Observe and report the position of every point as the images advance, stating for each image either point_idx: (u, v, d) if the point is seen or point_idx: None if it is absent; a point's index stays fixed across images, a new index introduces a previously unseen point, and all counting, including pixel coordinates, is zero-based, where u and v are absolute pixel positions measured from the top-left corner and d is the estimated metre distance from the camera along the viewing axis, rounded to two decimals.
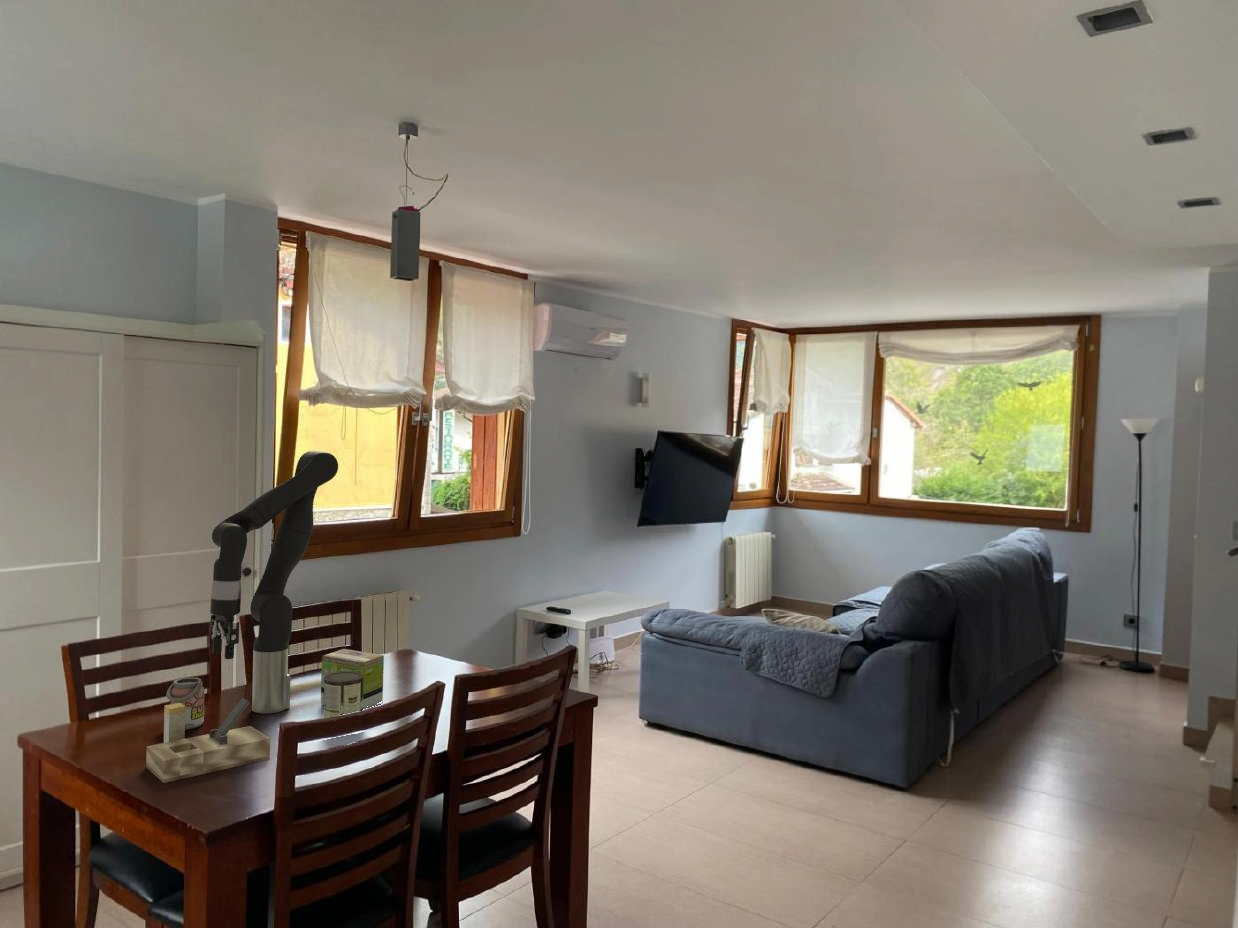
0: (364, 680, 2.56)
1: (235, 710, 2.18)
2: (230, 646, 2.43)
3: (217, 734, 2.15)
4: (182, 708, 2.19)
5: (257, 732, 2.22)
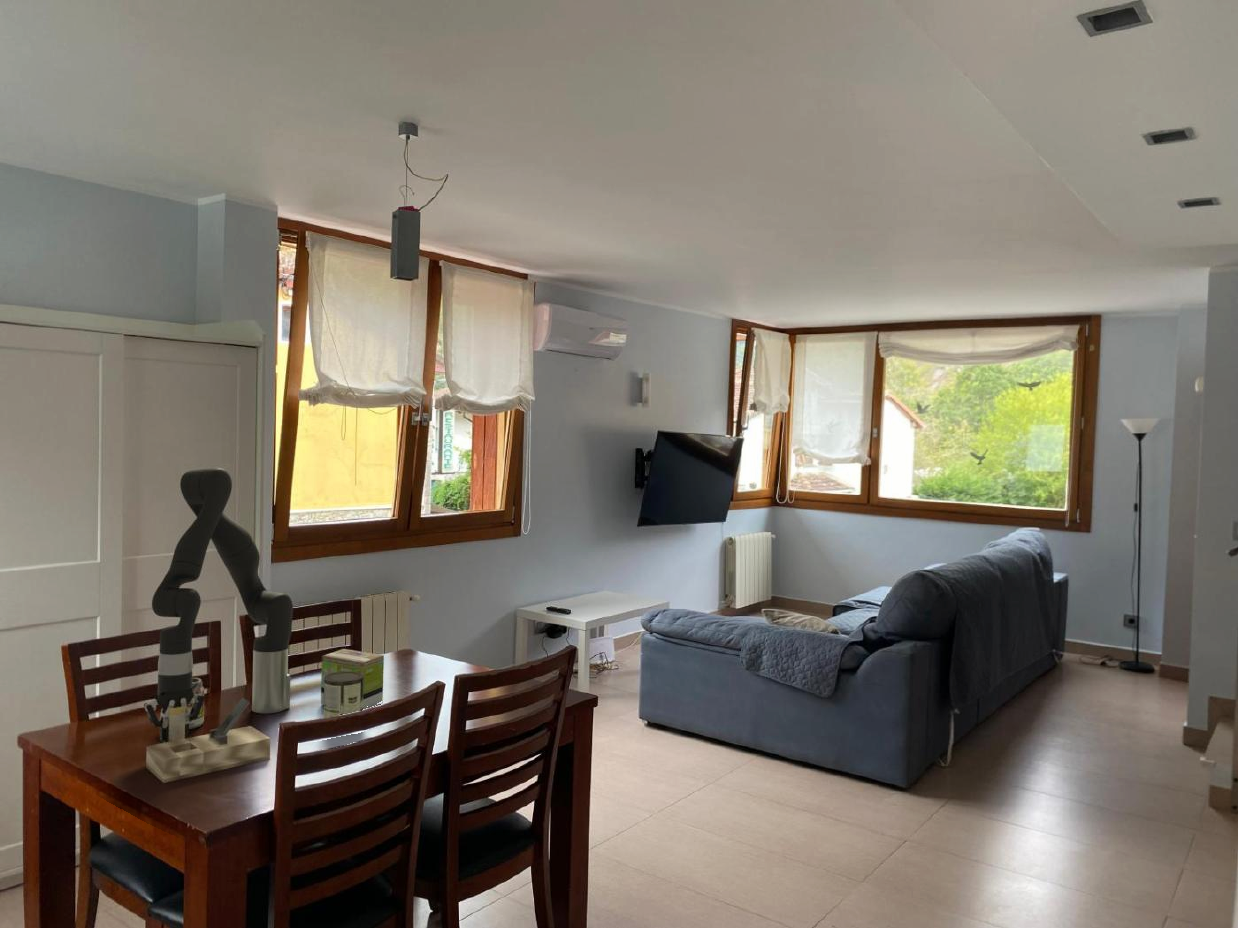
0: (364, 680, 2.56)
1: (235, 710, 2.18)
2: None
3: (217, 734, 2.15)
4: (182, 708, 2.19)
5: (257, 732, 2.22)
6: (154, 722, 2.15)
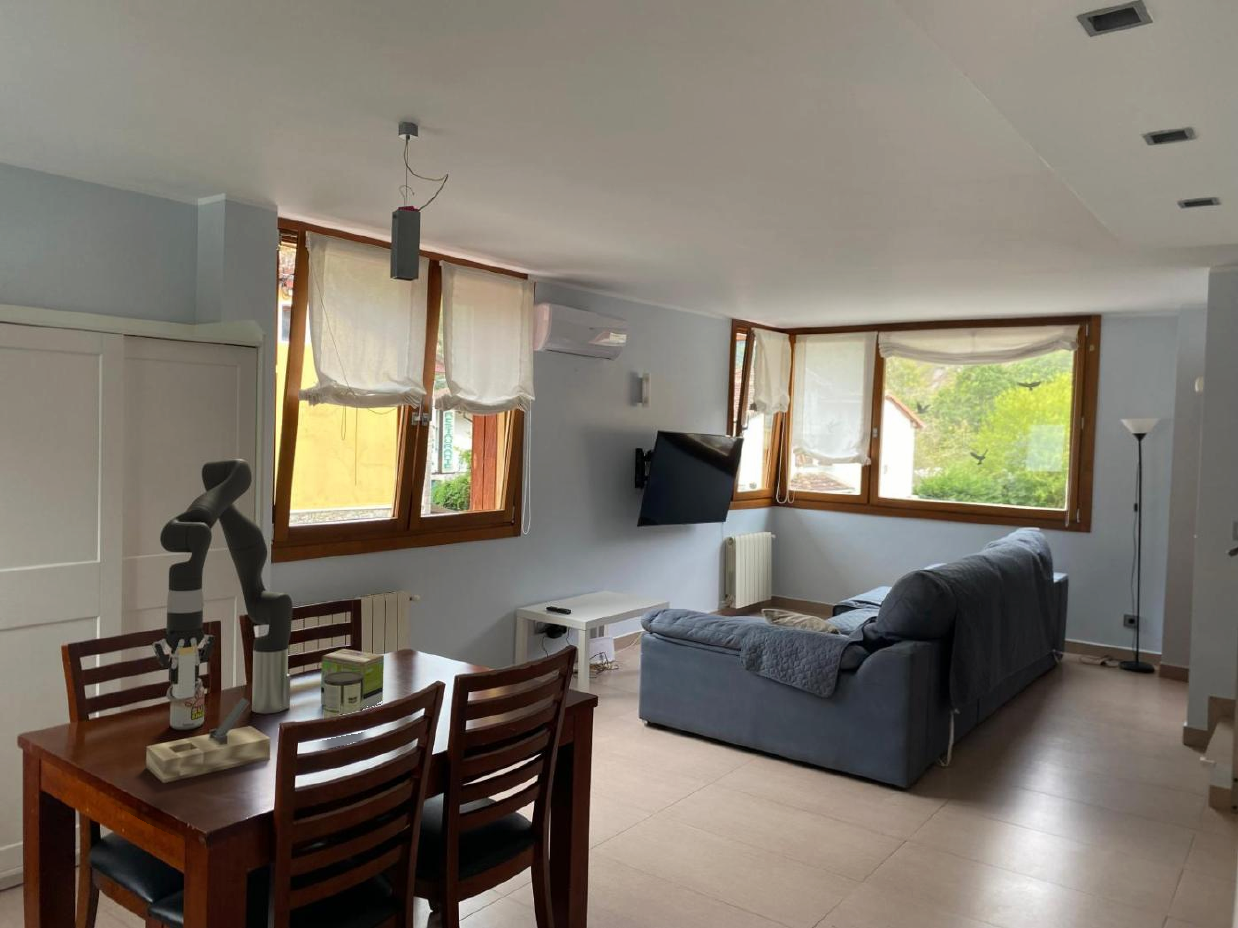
0: (364, 680, 2.56)
1: (235, 710, 2.18)
2: None
3: (217, 734, 2.15)
4: (192, 648, 2.09)
5: (257, 732, 2.22)
6: (163, 662, 2.05)
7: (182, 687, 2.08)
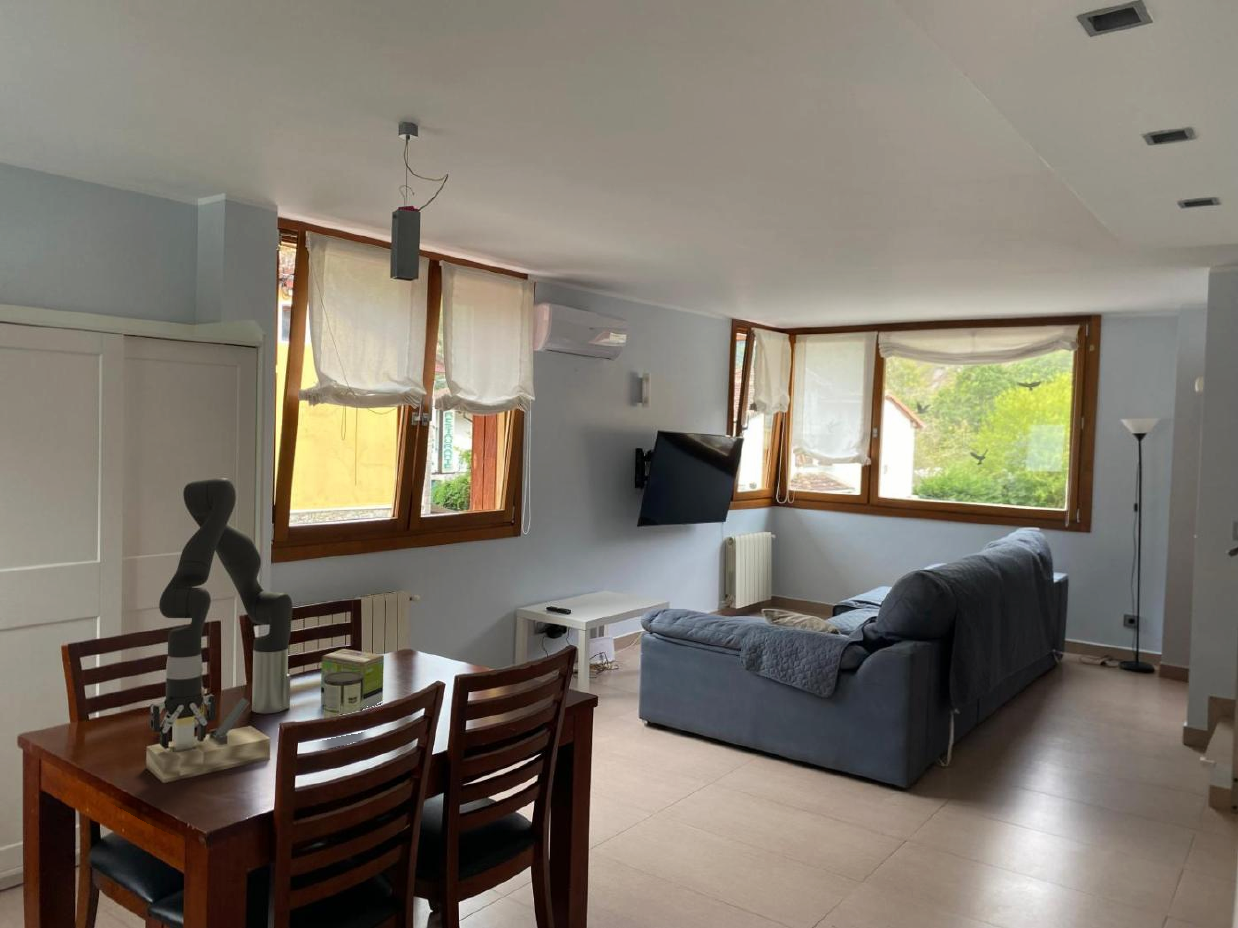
0: (364, 680, 2.56)
1: (235, 710, 2.18)
2: None
3: (217, 734, 2.15)
4: (191, 718, 2.09)
5: (257, 732, 2.22)
6: (155, 726, 2.04)
7: None
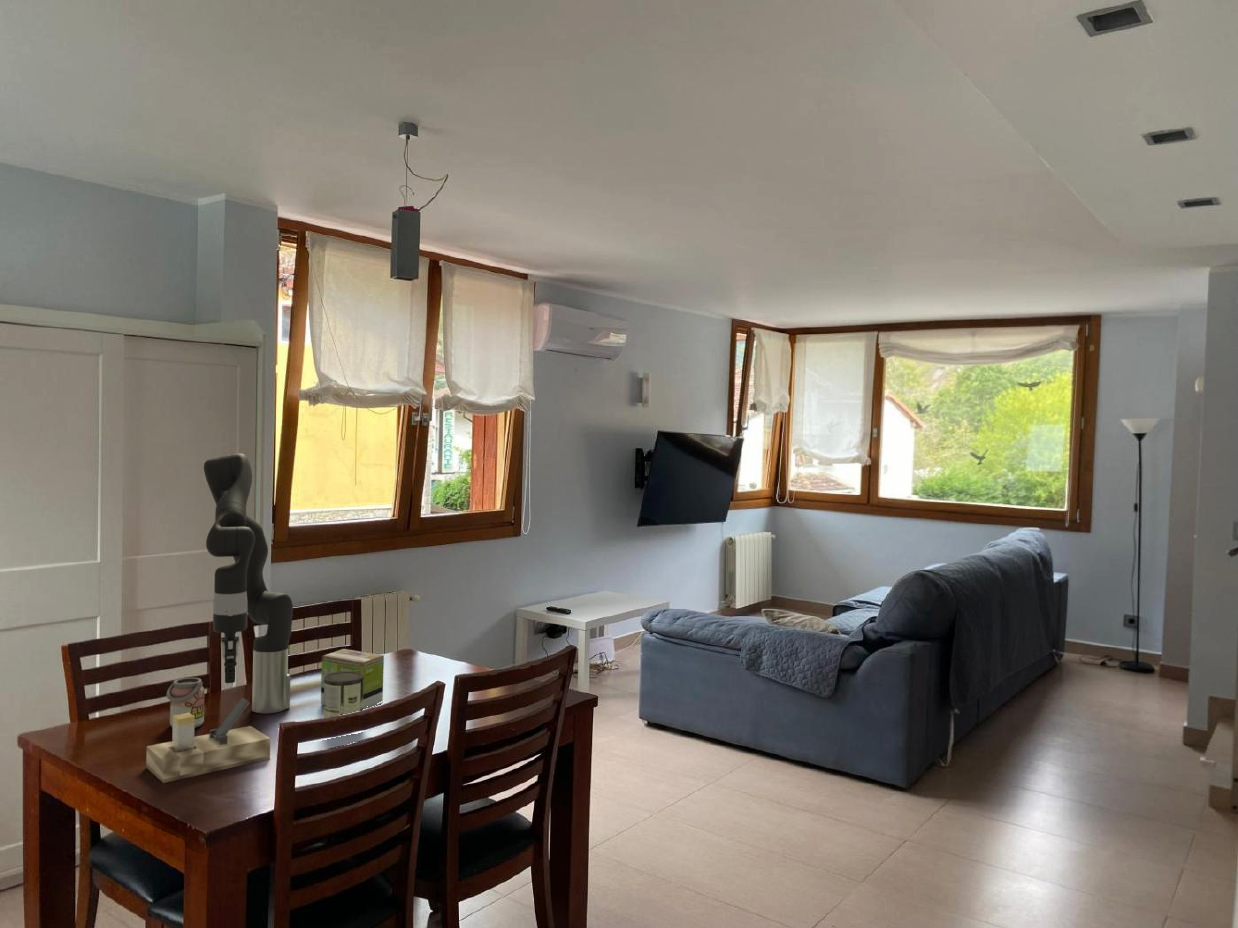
0: (364, 680, 2.56)
1: (235, 710, 2.18)
2: None
3: (217, 734, 2.15)
4: (191, 718, 2.09)
5: (257, 732, 2.22)
6: None
7: None
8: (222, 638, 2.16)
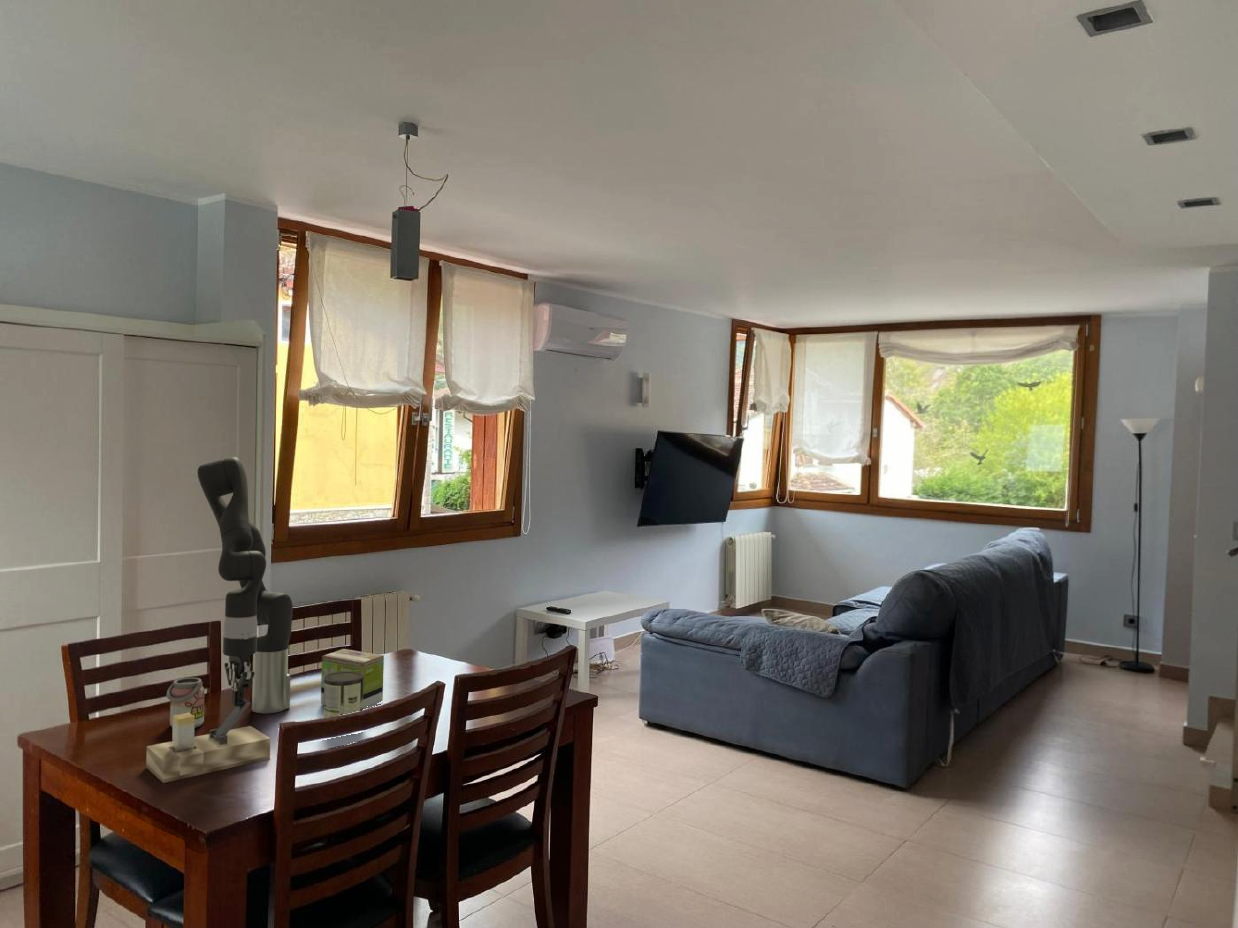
0: (364, 680, 2.56)
1: (235, 710, 2.18)
2: None
3: (217, 734, 2.15)
4: (191, 718, 2.09)
5: (257, 732, 2.22)
6: None
7: None
8: (230, 661, 2.18)
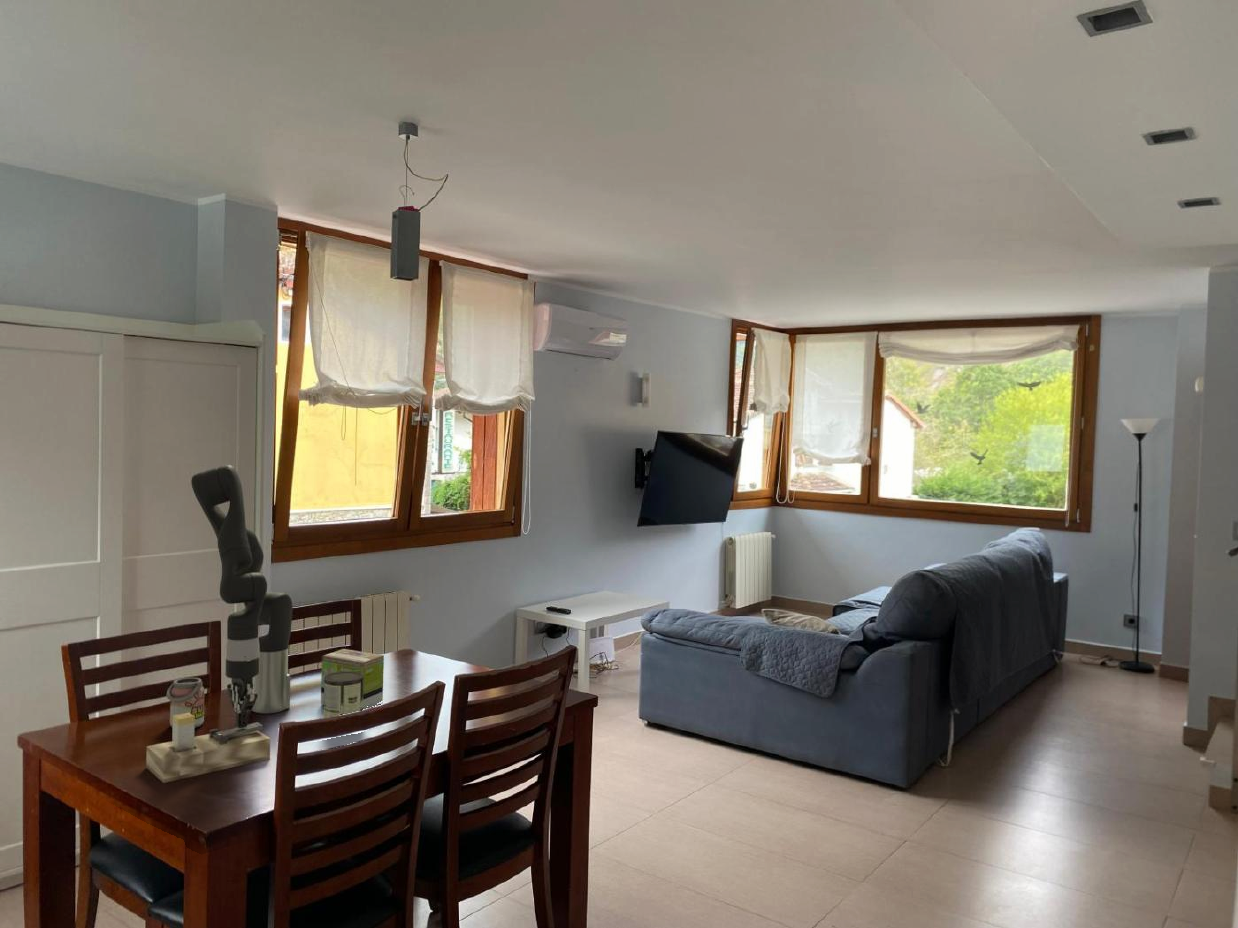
0: (364, 680, 2.56)
1: None
2: None
3: (219, 733, 2.15)
4: (191, 718, 2.09)
5: (257, 732, 2.22)
6: None
7: None
8: (233, 683, 2.18)
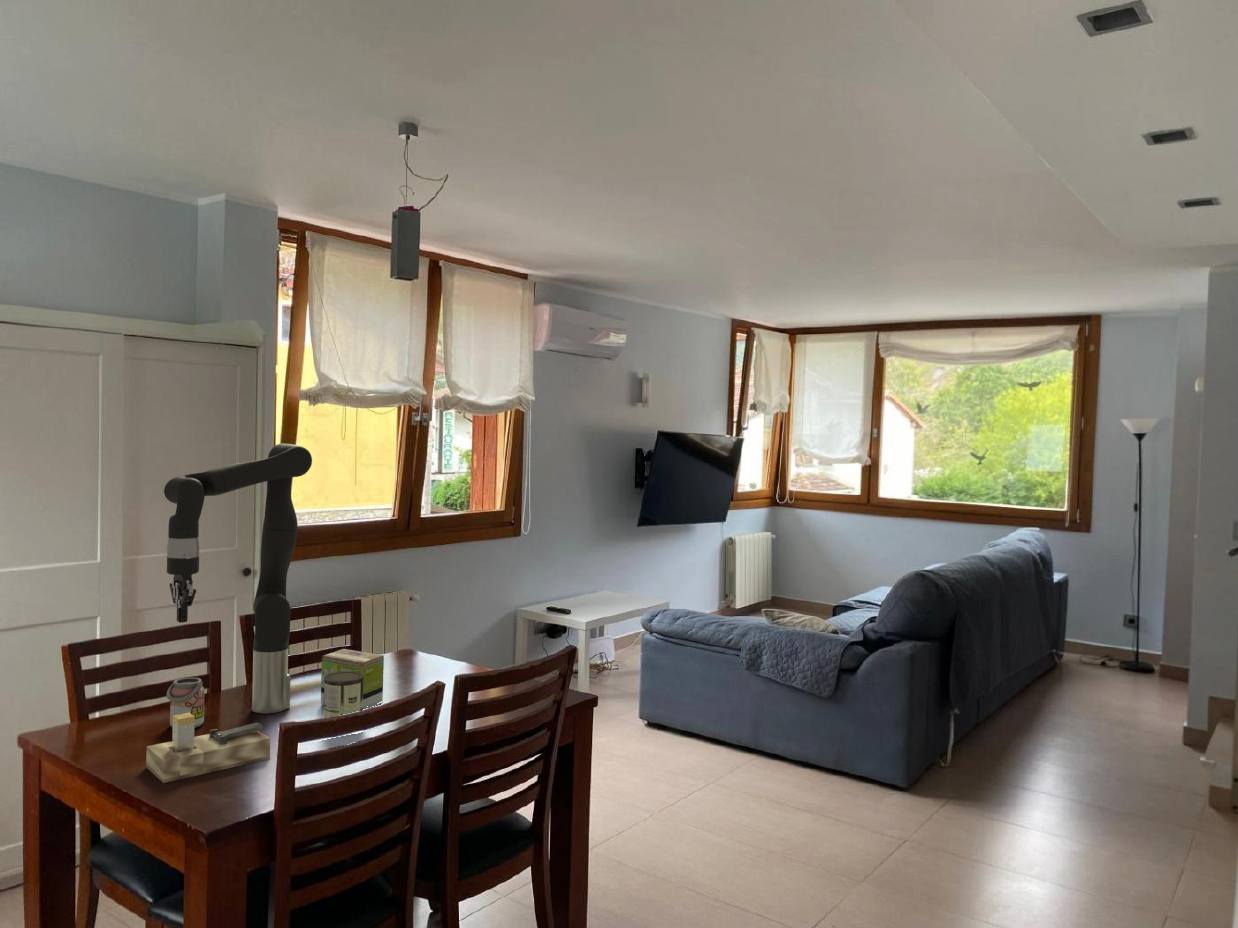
0: (364, 680, 2.56)
1: (246, 726, 2.20)
2: None
3: (219, 733, 2.15)
4: (191, 718, 2.09)
5: (257, 732, 2.22)
6: None
7: None
8: (174, 580, 2.33)
